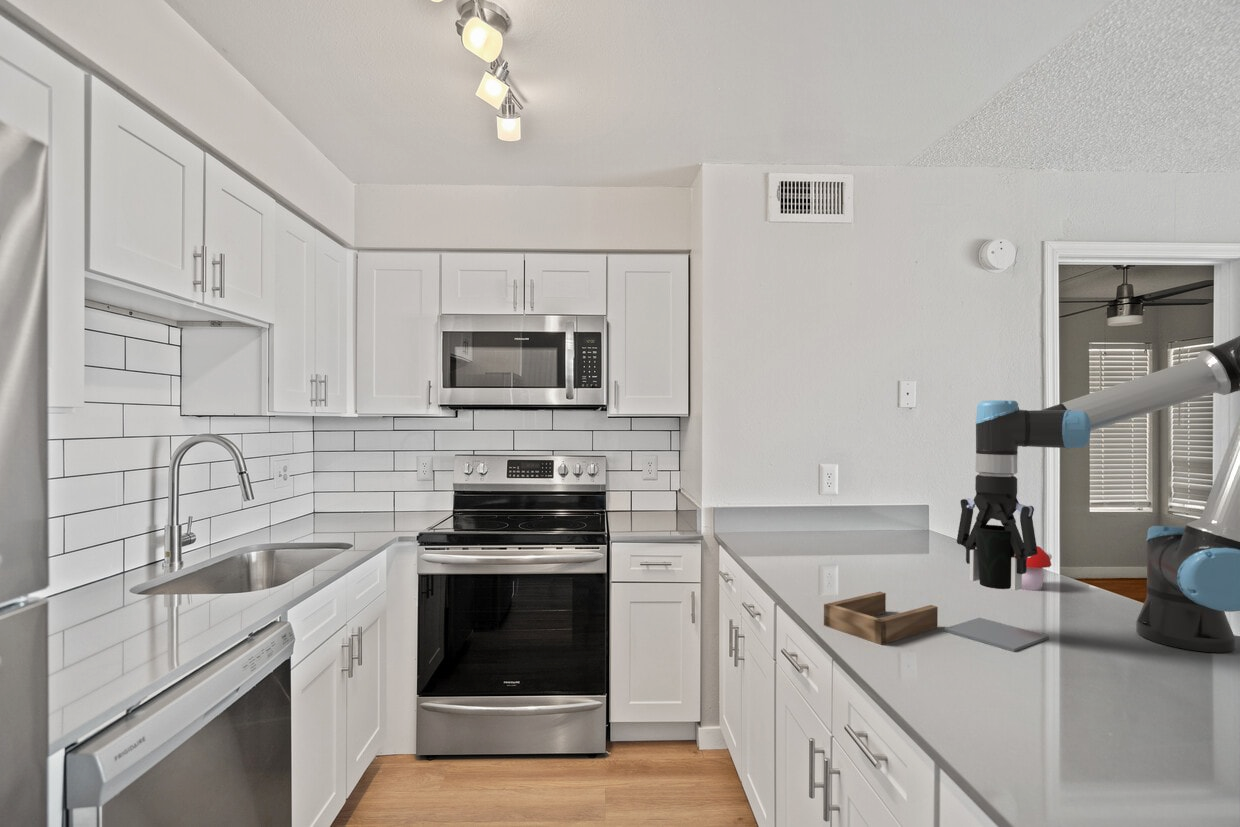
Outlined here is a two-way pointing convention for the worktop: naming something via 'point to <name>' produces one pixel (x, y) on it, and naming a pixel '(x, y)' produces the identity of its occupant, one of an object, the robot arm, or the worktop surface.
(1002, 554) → the cup
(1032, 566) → the mushroom
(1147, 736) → the worktop surface
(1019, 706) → the worktop surface
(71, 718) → the worktop surface
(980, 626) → the coaster
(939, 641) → the worktop surface
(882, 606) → the wooden frame
